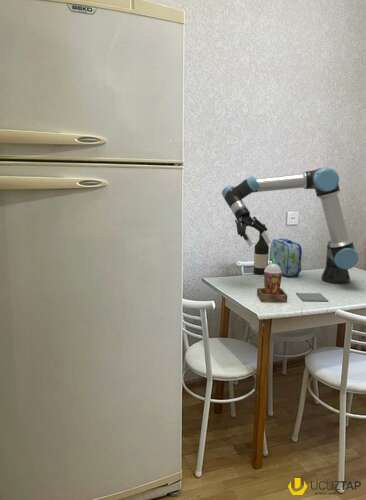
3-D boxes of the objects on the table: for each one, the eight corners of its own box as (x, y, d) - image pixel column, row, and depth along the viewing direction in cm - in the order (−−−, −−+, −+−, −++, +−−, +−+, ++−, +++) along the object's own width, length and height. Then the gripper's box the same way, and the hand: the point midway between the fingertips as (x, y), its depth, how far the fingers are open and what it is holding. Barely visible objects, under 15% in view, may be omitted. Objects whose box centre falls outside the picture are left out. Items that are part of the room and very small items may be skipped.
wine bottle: (267, 275, 240) (270, 225, 234) (253, 274, 241) (255, 224, 236) (267, 272, 248) (269, 223, 242) (253, 271, 249) (255, 223, 244)
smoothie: (260, 296, 198) (262, 256, 194) (277, 295, 199) (279, 256, 195) (265, 301, 190) (267, 259, 186) (282, 301, 191) (285, 259, 187)
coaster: (320, 294, 202) (320, 293, 202) (328, 301, 190) (328, 300, 190) (296, 294, 202) (296, 292, 202) (302, 301, 190) (303, 300, 190)
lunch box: (302, 278, 235) (305, 242, 231) (285, 278, 233) (288, 243, 229) (283, 268, 260) (284, 236, 256) (267, 268, 258) (269, 236, 254)
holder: (281, 295, 200) (281, 288, 199) (287, 302, 188) (287, 295, 188) (256, 294, 200) (257, 287, 200) (261, 302, 188) (261, 294, 188)
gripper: (252, 214, 222) (272, 245, 213) (219, 216, 206) (239, 250, 198) (260, 206, 217) (281, 237, 208) (227, 207, 201) (247, 241, 192)
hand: (260, 243), depth 203 cm, fingers open, 13 cm apart
